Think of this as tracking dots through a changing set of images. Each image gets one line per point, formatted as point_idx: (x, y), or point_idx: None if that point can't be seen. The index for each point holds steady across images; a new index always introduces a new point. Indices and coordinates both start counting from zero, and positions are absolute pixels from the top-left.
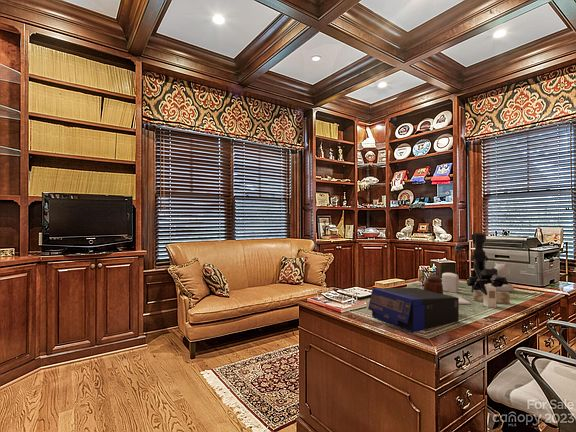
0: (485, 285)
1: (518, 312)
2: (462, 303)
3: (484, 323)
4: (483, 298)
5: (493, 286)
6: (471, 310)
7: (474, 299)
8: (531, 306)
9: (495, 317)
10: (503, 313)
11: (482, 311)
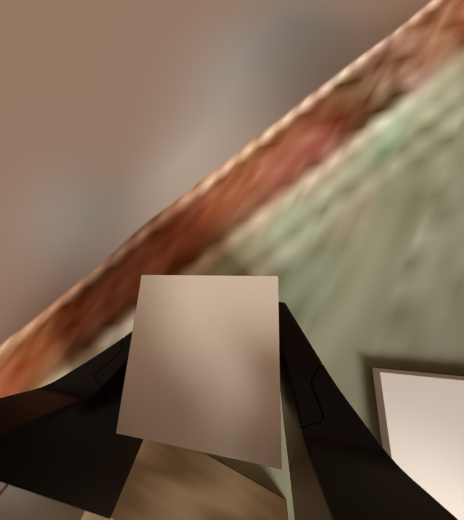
0: (241, 451)
1: (171, 212)
2: (455, 377)
3: (432, 28)
4: (213, 482)
5: (141, 341)
6: (425, 212)
7: (284, 508)
8: (36, 322)
9: (332, 117)
10: (254, 185)
11: (356, 202)
